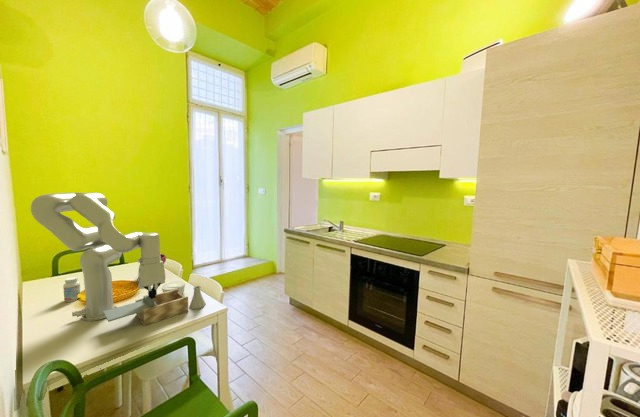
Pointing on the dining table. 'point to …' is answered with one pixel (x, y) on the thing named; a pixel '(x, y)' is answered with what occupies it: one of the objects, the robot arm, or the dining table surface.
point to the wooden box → (164, 307)
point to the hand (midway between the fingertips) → (152, 297)
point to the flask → (197, 299)
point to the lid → (129, 309)
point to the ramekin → (174, 286)
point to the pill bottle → (71, 289)
